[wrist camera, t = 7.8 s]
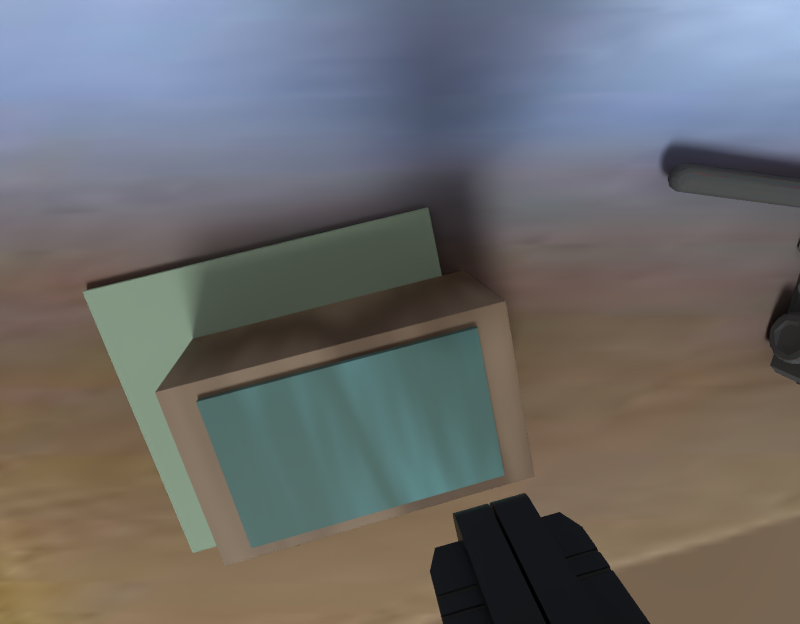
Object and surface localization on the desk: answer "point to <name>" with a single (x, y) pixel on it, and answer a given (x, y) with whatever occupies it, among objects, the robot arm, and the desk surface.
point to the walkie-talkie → (795, 331)
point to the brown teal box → (348, 413)
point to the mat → (242, 315)
